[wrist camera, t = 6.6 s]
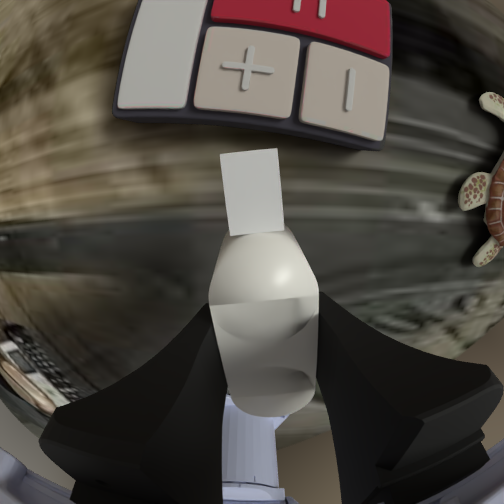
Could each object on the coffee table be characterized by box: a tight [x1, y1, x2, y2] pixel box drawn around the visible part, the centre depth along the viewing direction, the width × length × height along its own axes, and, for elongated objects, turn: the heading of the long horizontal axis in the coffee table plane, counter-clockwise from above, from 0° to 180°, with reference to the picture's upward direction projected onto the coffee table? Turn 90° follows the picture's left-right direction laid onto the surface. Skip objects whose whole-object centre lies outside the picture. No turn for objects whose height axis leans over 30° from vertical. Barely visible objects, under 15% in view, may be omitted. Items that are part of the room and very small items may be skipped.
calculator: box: [112, 0, 392, 151], centre depth 12 cm, size 11×4×15 cm
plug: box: [209, 148, 319, 417], centre depth 9 cm, size 9×3×4 cm, turn 6°
